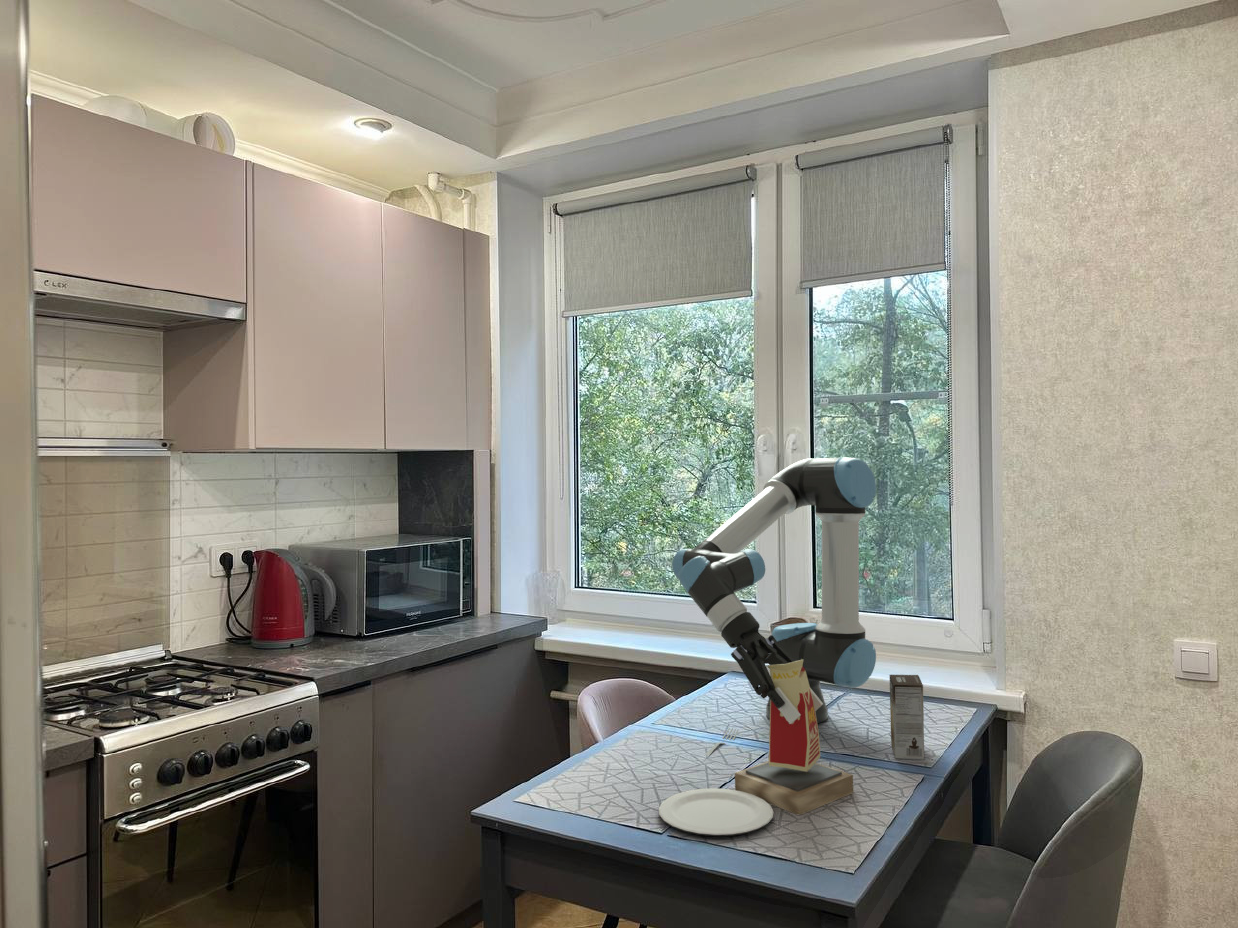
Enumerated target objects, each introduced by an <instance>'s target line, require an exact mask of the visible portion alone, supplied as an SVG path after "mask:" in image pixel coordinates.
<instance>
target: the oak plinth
mask: <svg viewBox="0 0 1238 928" xmlns="http://www.w3.org/2000/svg"><path fill="white" fill-rule="evenodd" d="M734 790H736V791H742V792H746V793H749V794H752V795H755V796H757V797H759V798H761V799H763V800H765V801H766V802H767V803H768V804H769V805H771V804H772V805H771V806H774V807H776V806H777V808H779V809H781V810H784V811H787V812H790V813H792V814H794V815H797V816H801V815H803V814H806V813H808V812H811V811H814V810H815V809H819V808H820V807H822V806H825V805H827V804H830V803H833V802H835V801H837V800H840V799H842V798H845V797H847V796H849V795H851V794H853V793H854V774H852V773H848V772H845V771H843V770H839V769H836V768H833V767H829V766H826V765H824V764H820V763H817V762H816V763H815V764H814V765H813V766H812V767H811V768H810V769H809V770H808V771H807V772H806V771H800V770H795V769H790V768H783V767H775V766H769V760H768V761H765V762H762V763H760V764H757V765H754V766H750V767H748V768H745V769H742V770H739V771H736V772H734Z"/></svg>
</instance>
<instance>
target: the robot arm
mask: <svg viewBox="0 0 1238 928" xmlns="http://www.w3.org/2000/svg"><path fill="white" fill-rule="evenodd" d="M876 482H877V481H876V478H875V475H874V473H873V471H872V469H871V467H869V464H867V463H866V462H865V461H864V460H862V459H860V458H857V457H846V456H843V457H823V458H822V457H819V458H817V457H815V458H813V457H812V458H805V459H802V460H799V461H797V462H794V463H793V464H790V465H789V466H787V467H786V468H784V469H782V470H781V471H779V472H778V473H777V474H775V475H774V476H772V478H770V479H769V480H768V481H766V483H765V484H764V486H763V488H762V489H763V491H761V492H760V493H759V494H758V495H756V496H754V498H753V499H752V500H751V501H749V502H748V503H746V505H745V506H743V507H742V508H741V509H740V510H738V511H737V512H736V513H735V514H734V515H733V516H732V517H730V518H729V519H728V520H727V521H725V522H724V523H723V524H722V525H721V526H719V527H718V528H717V529H716V530H714V531H713V532H712V533H711V534H709V535H708V536H707V537H705V539H704V540H703V541H702V542H700V543H699V544H697V546H695V547H694V548H690V547H688V548H683V549H680V550H678V551H677V552H676V553H675V555H674V556H673V559H672V562H671V563H672V565H671V567H672V571H673V574H674V575H675V577H676V578H677V579H678V581H679V582H680V585H682V587H683V589H684V590H685V591H686V593H687V594H688V595H689V597H690V598H691V599H692V600H693V602H694V603H695V604H696V606H697V607H698V608H699V609H700V610H701V611H702V613H703V614H704V616H705V617H707V619H708V620H709V621H710V622H711V624H712V626H714V628H715V629H716V630H717V631H718V632H720V636H721V638H723V640H724V641H725V642H726V644H727V645H728V647H730V648H732V649H734V650H733V651H731V653H730V656H731V657H732V658H733V659H734V661H735V662H736V663H737V664H738V666H739V667H740V669H741V670H742V672H743V673H744V676H745V677H746V678H747V681H748V682H749V684H750V686H751V687H752V689H753V690H754V692H755V694H756V695H758V696H760V697H761V698H762V699H766V698H767V697H768V701H767V703H766V709H765V710H766V711H765V713H766V717H767V718H768V719H769V720H770V700H771V701H772V702H773V703H774V705H775V706H776V707H777V708H778V709H779V711H780V712H781V713H782V715H783V716H784V717H785V718H786V720H787V721H788V722H789V724H792V723H793V722H794V721H795V720H796V719H797V718H798V717H799V716H801V714H800V713H799V712H798V711H797V709H796V708H795V707H794V706H793V704H792V703H791V702H790V700H789V699H788V698H787V697H786V695H785V694H784V693H783V692H782V690H781V689H780V688H779V687H777V688H776V689H775V685H774V683H773V681H772V679H771V675H770V671H768V667H767V666H766V664H767V665H777V664H787V663H791V662H795V661H799V660H803V659H804V660H803V667H804V669H805V670H806V674H807V678H808V682H809V686H810V690H811V693H812V697H813V701H814V707H815V713H816V719H817V724H820V723H823V722H825V721H827V720H828V717H829V711H828V706H827V704H826V702H825V699H824V694H823V692H822V691H823V690H822V688H821V682H823V683H827V684H831V685H836V687H837V686H838V687H841V688H844V687H845V688H851V689H854V688H855V689H857V688H859V687H862V686H863V685H864V684H865V683H866V682H867V681H868V680H869V679H870V677H871V676H872V674H873V672H874V670H875V668H876V661H877V651H876V648H875V647H874V644H873V643H872V642H871V641H870V640H868V639H867V638H866V628H865V627H864V626H863V625H862V623H860V621H859V619H860V618H859V612H860V610H859V609H860V607H859V606H860V605H859V604H860V599H859V598H860V596H859V595H860V592H859V590H860V589H859V587H860V586H859V585H860V583H859V581H860V580H859V578H860V576H859V574H860V572H859V571H860V569H859V568H860V567H859V564H860V561H859V560H860V559H859V557H860V556H859V554H860V553H859V552H860V549H859V547H860V546H859V544H860V543H859V539H860V536H859V534H860V533H859V531H860V530H859V528H860V527H859V526H860V524H859V523H860V521H861V519H863V517H864V516H866V508H867V507H869V506H870V505H872V503H874V498H875V497H876V494H877V483H876ZM805 506H814V507H815V515H816V516H817V517H818V518H819V519H820V520H821V620H820V622H819V623H815V622H797V623H789V624H782V625H778V626H776V627H774V628H773V629H772V632H771V635H769V636H768V637H767V638H766V637H764V636H763V635H762V634H761V633H760V632H759V630H760V622H758V621H757V619H756V618H755V617H754V616H753V614H752V613H751V612H749V611H748V608H747V607H746V605H745V604H744V603H743V602H742V600H740V598H739V597H738V596H737V595H736V593H737V592H740V591H741V590H743V589H745V588H747V587H751V586H753V585H754V584H755V583H758V582H760V581H761V580H762V579H763V578H764V577H765V575H766V565H765V560H764V559H763V557H762V555H761V554H760V553H759V552H758V551H757V550H755V549H752V548H747V546H749V545H750V544H752V542H753V541H754V540H756V539H757V538H758V537H759V536H761V535H762V534H763V533H764V532H765V531H766V530H768V529H769V528H770V526H772V525H773V524H774V523H776V521H778V520H779V519H780V518H781V517H783V515H790V514H792V513H793V512H794V511H796V510H797V509H799V508H800V507H801V508H802V507H805ZM745 548H747V549H745Z"/></svg>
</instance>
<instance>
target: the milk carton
mask: <svg viewBox="0 0 1238 928" xmlns="http://www.w3.org/2000/svg"><path fill="white" fill-rule="evenodd" d="M803 660H804V659H803ZM803 660H799V661H795V662H791V663H787V664H777V665H769V664H767V665H766V664H765V665H766V667H767V669H769V674H770V676H771V679H772V681H773V683H774V685H775V689H776V688H777V687H779V688H780V689H781V690H782V692H783V693H784V694H785V695H786V697H787V698H788V699H789V700H790V702H791V703H792V704H793V706H794V707H795V708H796V709H797V711H798V712H799V713H800V714H801V716H799V717H798V718H797V719H796V720H795V721H794V722H793V723H792V724H789V722H788V721H787V720H786V718H785V717H784V716H783V715H782V713H781V712H780V711H779V709H778V708H777V707H776V706H775V705H774V703H773V702H772V701H771V700H770V719H769V735H768V736H769V739H768V747H769V749H768V759H767V760H768V761H769V766H775V767H783V768H790V769H795V770H800V771H806V772H807V771H808V770H809V769H810V768H811V767H812V766H813V765H814V764H815V763H817V762H818V761H819V759H820V758H821V744H820V743H821V742H820V733H819V727H818V723H817V719H816V713H815V707H814V701H813V697H812V693H811V690H810V686H809V682H808V678H807V674H806V670H805V669H804V667H803Z"/></svg>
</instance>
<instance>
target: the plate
mask: <svg viewBox="0 0 1238 928" xmlns="http://www.w3.org/2000/svg"><path fill="white" fill-rule="evenodd" d="M658 813H659V815H658V816H659V817H660V818H661V819H662V821H663V822H664V823H666V824H667V825H669V826H670V827H672V828H674V829H676V830H679V831H682V832H684V833H687V834H688V833H689V834H694V835H699V836H707V837H733V836H738V835H739V836H741V835H745V834H749V833H753V832H755V831H758V830H760V829H763V827H765V826H767V825H768V824H769V823H770V822H771V821H772V820H773V818H774V813H775V812H774V810H773V808H772V805H771V804H769V803H767V802H766V801H765V800H763V799H761V798H759V797H757V796H755V795H752V794H749V793H746V792H742V791H736V790H735V789H728V788H718V787H717V788H715V787H713V788H698V789H690V790H686V791H682V792H679V793H676V794H673V795H672V796H669V797H667V798H666V799H665V800H663V802H661V804H660V805H659V808H658Z"/></svg>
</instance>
